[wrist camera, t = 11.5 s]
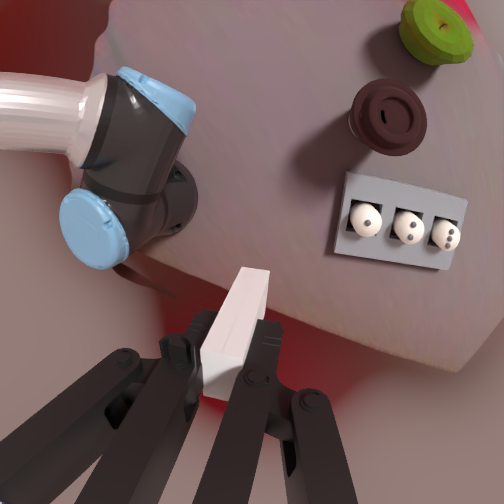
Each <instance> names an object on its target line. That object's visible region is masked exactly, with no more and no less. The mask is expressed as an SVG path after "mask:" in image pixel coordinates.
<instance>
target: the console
mask: <svg viewBox="0 0 504 504" xmlns="http://www.w3.org/2000/svg"><path fill="white" fill-rule="evenodd" d="M351 199H356V200H361V201H367V202H372V203H378V204H379V207H378V213H379V214H380V216H381V219H382V225H381V228H380V230H379V231H378V233H377V234H375V235H374V236H371V237H363V236H361V235H359V234H358V233H357V232H356V231H355V229H354V228H349V227H346V226H347V221H348V215H349V210H350V204H351ZM467 203H468V200H466V199H464V198H461V197H458V196H455V195H451V194H448V193H444V192H440V191H437V190H433V189H429V188H425V187H421V186H417V185H413V184H409V183H405V182H400V181H396V180H391V179H387V178H382V177H377V176H372V175H367V174H361V173H356V172H350V171H346V174H345V181H344V188H343V195H342V201H341V207H340V213H339V219H338V225H337V230H336V236H335V241H334V246H333V249H334V253H339V254H345V255H352V256H359V257H365V258H372V259H378V260H385V261H391V262H398V263H404V264H411V265H417V266H423V267H430V268H436V269H442V270H449V268H450V265H451V262H452V259H453V255H454V252H455V249H456V248H455V249H453V250H451V251H443V250H442V249H441V248H440V247H439V246H438V245H437V244H436V243H433V242H428V240H429V236H430V232H431V229H432V225H433V220H434V216H439V217H443V218H447V219H451V220H452V222H451V224H453V225H454V226H456V227H457V228H458V230H459V232H461V228H462V224H463V220H464V216H465V212H466V208H467ZM396 207H398V208H403V209H408V210H412V211H417V212H418V215H417V217H418V218H419V219H420V220H421V221H422V222H423V224H424V234H423V237H422V238H421V239H420V241H418V242H417V243H415V244H406V243H404V242H403V241H402V240H401V239H400V238H399V237H398V236H396V235H391V234H390V231H391V227H392V222H393V218H394V213H395V208H396Z"/></svg>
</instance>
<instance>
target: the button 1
mask: <svg viewBox="0 0 504 504" xmlns="http://www.w3.org/2000/svg"><path fill="white" fill-rule="evenodd" d="M349 218H350V221H351V223H352V225H353V227H354V229H355V231H356V232H357V233H358V234H359V235H361V236H363V237H371V236H374V235H375V234H377V233H378V231H379V230H380V228H381V225H382V219H381V216H380V214H379V213H378V211H377V210H376V209H375V208H374V207H373V206H372V205H371V204H370V203H368V202H358V203H356V204H355V205H353V206H352V208H351V210H350V213H349Z"/></svg>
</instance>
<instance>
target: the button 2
mask: <svg viewBox="0 0 504 504" xmlns="http://www.w3.org/2000/svg"><path fill="white" fill-rule="evenodd" d="M392 228H393V230H394V232H395V233H396V234H397V235H398V237H399V238H400V239H401V240H402V241H403V242H404V243H406V244H415V243H417V242H418V241H420V239H421V238H422V237H423V234H424V224H423V222H422V221H421V220H420V219H419V218H418V217H417V216H415V215H414V214H413V213H412V212H410V211H409V210H400V211H398V212H397V213H396V214H395V215H394V218H393V222H392Z"/></svg>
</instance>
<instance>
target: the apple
mask: <svg viewBox="0 0 504 504" xmlns="http://www.w3.org/2000/svg"><path fill="white" fill-rule="evenodd" d="M398 29H399V34H400V38H401V40H402V42H403V44H404V46H405V48H406V49H407V50H408V51H409V52H410V53H411V55H412V56H413V57H415V58H416V59H418V60H419V61H421V62H422V63H425V64H429V65H433V66H435V65H443V64H454V63H463V62H465V61H466V60H467V59H468V58H469V57H471V56H472V51H473V47H474V44H473V40H472V36H471V33H470V31H469V29H468V27H467V26H466V24H465V22H464V20H463V19H462V18H461V17H460V16H459V15H458V14H457V13H456V12H455V11H454V10H453V9H451V8H450V7H449V6H447V5H446V4H444V3H443V2H441V1H440V0H409V1H407V3H406V4H405V6H404V8H403V11H402V13H401V23H400V25H399V28H398Z"/></svg>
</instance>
